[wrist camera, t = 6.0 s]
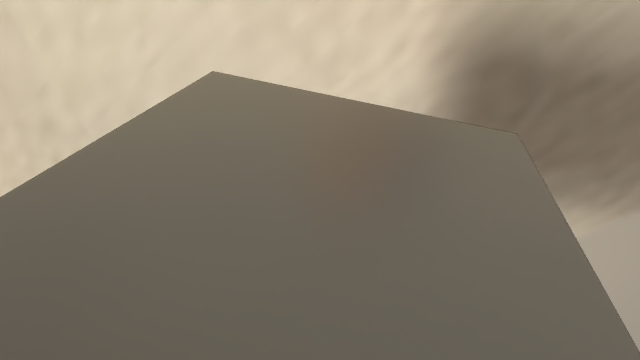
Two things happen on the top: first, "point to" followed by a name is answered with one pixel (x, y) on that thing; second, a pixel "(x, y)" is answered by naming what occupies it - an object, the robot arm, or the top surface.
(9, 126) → the top surface
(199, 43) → the top surface
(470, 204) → the grey upright block
